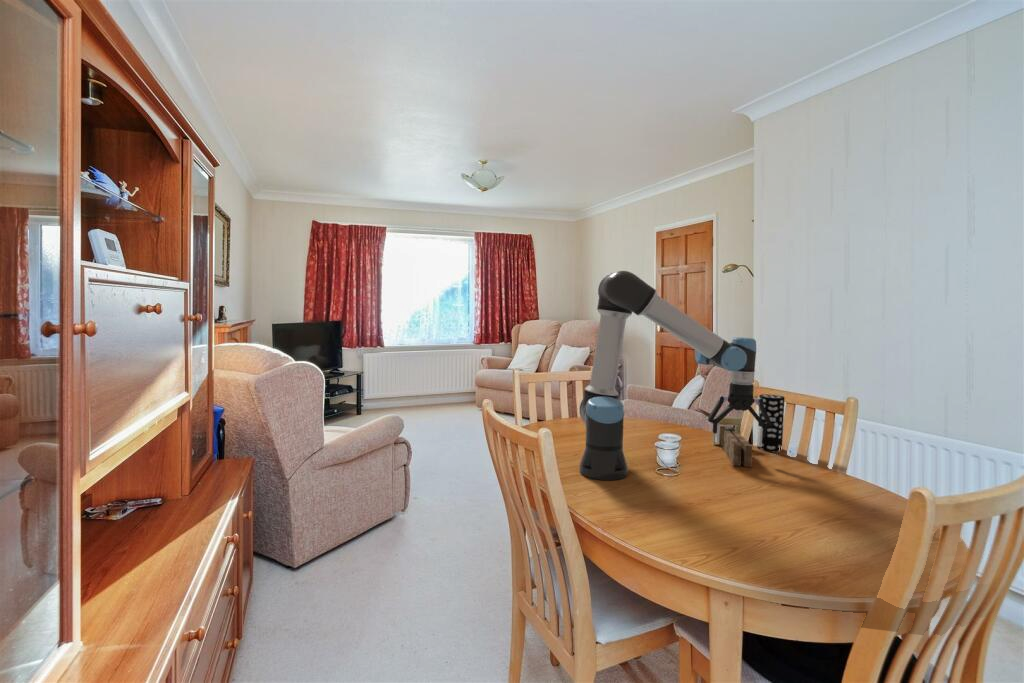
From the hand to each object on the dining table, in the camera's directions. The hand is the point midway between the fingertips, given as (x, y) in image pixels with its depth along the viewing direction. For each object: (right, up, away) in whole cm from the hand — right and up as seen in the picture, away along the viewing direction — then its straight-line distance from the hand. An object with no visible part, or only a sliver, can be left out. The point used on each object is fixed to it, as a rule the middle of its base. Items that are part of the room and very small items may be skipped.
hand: (737, 444), depth 176 cm
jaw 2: (+3, -5, +4) cm, 7 cm away
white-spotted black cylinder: (+19, -5, +17) cm, 26 cm away
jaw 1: (0, -5, +5) cm, 7 cm away
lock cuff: (+5, -5, +21) cm, 22 cm away
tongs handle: (+5, -5, +20) cm, 21 cm away
